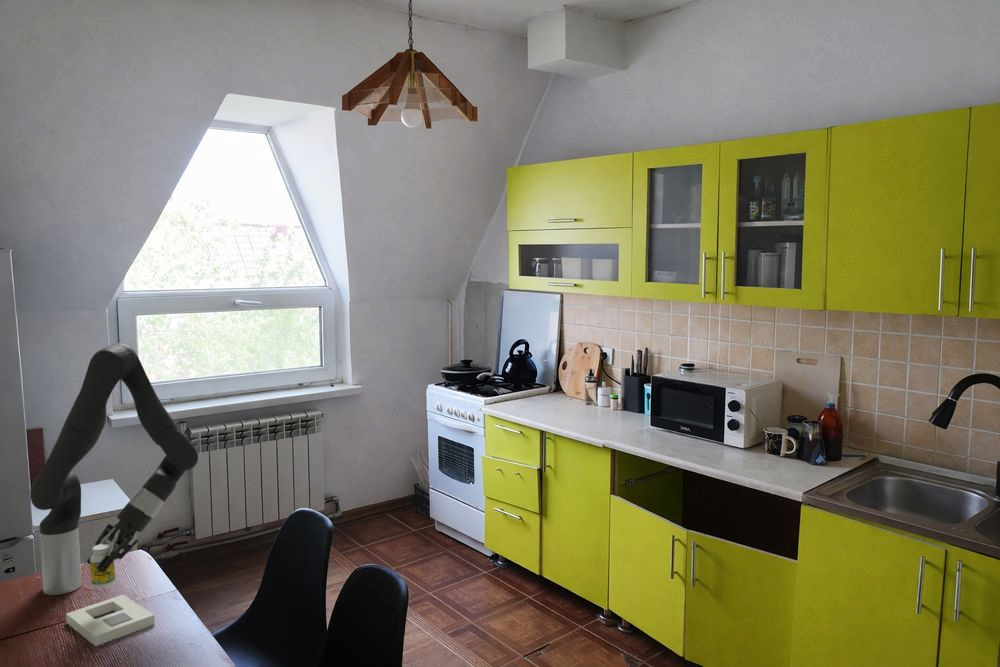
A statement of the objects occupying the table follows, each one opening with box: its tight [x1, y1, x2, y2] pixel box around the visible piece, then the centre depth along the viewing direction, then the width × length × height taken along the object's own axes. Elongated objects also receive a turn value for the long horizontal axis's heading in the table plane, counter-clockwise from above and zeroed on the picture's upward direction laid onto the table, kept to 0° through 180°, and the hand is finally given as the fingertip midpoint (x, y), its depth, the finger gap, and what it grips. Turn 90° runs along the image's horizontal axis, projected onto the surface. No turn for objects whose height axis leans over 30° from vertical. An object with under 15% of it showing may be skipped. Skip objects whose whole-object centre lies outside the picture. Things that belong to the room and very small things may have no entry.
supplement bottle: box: [89, 544, 116, 588], centre depth 183 cm, size 5×5×10 cm
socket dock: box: [65, 594, 156, 647], centre depth 182 cm, size 18×14×3 cm
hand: (94, 567), depth 182 cm, fingers closed on supplement bottle, 5 cm apart
